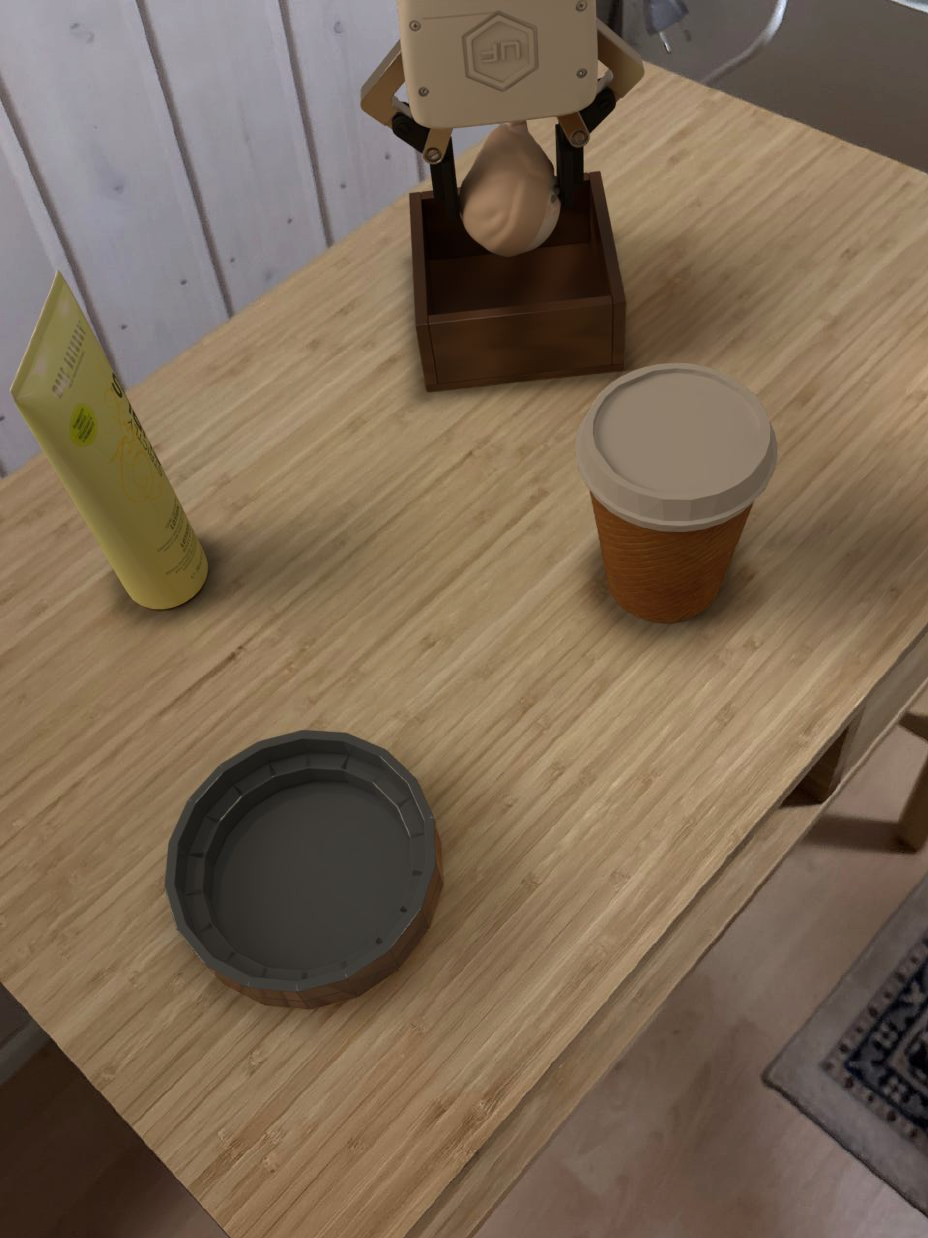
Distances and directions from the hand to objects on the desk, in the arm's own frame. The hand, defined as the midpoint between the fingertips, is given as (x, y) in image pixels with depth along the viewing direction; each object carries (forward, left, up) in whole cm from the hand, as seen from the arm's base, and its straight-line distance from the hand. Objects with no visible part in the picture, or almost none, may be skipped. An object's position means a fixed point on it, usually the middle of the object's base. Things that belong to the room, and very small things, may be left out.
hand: (508, 198), depth 69 cm
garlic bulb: (0, 0, -3) cm, 3 cm away
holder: (0, 0, -9) cm, 9 cm away
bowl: (+13, +38, -9) cm, 41 cm away
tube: (+22, +19, -9) cm, 30 cm away
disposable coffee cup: (-6, +22, -9) cm, 25 cm away
